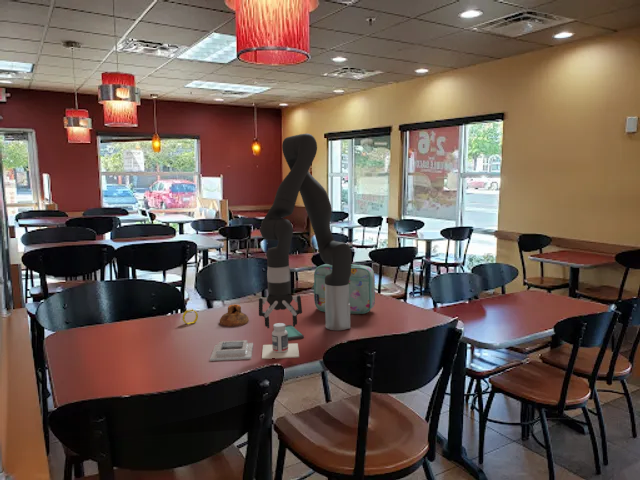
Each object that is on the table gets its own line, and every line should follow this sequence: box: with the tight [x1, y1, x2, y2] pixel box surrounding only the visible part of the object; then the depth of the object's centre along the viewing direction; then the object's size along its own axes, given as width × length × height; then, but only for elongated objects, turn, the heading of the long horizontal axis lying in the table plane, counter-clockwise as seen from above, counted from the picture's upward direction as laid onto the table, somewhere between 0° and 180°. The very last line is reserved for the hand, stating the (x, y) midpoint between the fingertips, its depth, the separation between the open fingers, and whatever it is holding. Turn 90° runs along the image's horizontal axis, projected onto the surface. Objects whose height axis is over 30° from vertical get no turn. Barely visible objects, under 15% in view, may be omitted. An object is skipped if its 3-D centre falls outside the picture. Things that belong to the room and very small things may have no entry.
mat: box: [261, 342, 300, 360], centre depth 162 cm, size 12×12×1 cm
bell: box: [219, 303, 250, 328], centre depth 195 cm, size 12×12×7 cm
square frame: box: [209, 339, 254, 362], centre depth 162 cm, size 13×13×2 cm
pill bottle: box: [271, 322, 289, 353], centre depth 161 cm, size 5×5×9 cm
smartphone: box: [285, 324, 305, 342], centre depth 180 cm, size 7×1×15 cm
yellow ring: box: [182, 307, 199, 325], centre depth 194 cm, size 6×3×6 cm, turn 127°
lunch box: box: [311, 263, 376, 315], centre depth 206 cm, size 27×10×21 cm, turn 73°
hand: (281, 326), depth 161 cm, fingers open, 8 cm apart
